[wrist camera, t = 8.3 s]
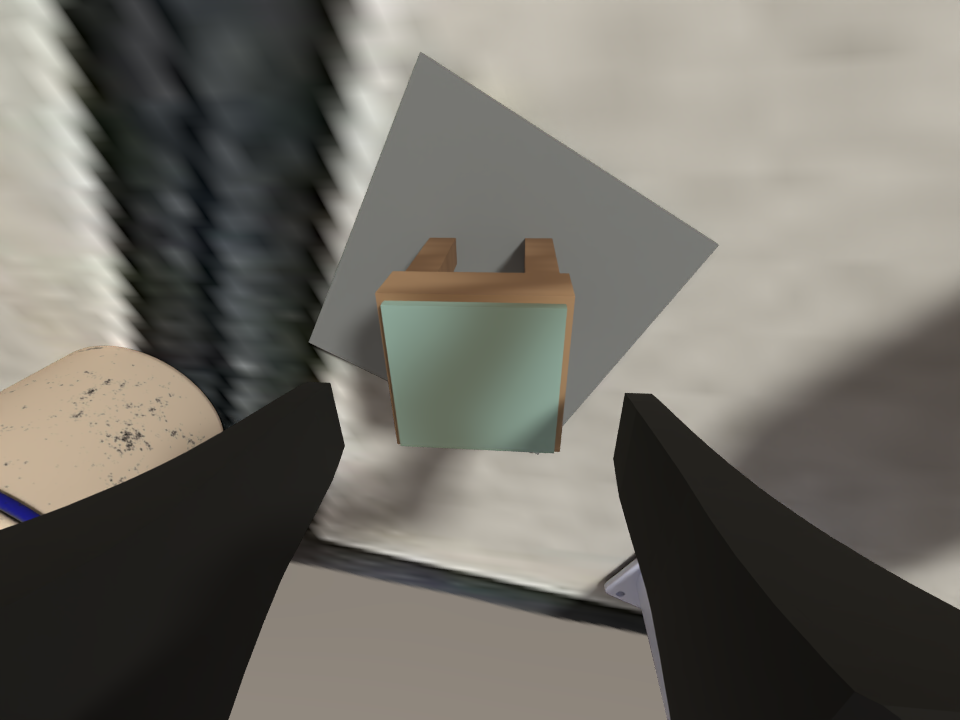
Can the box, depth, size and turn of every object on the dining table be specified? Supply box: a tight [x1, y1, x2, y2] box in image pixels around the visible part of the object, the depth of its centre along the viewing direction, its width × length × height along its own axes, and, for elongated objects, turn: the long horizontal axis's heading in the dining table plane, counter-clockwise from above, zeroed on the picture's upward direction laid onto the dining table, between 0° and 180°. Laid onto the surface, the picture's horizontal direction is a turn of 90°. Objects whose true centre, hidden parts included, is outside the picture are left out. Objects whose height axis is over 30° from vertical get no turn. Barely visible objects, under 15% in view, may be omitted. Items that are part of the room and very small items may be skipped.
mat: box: [309, 52, 719, 454], centre depth 18 cm, size 12×12×1 cm
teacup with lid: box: [0, 346, 223, 530], centre depth 18 cm, size 12×9×12 cm
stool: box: [375, 238, 575, 453], centre depth 15 cm, size 5×5×6 cm
